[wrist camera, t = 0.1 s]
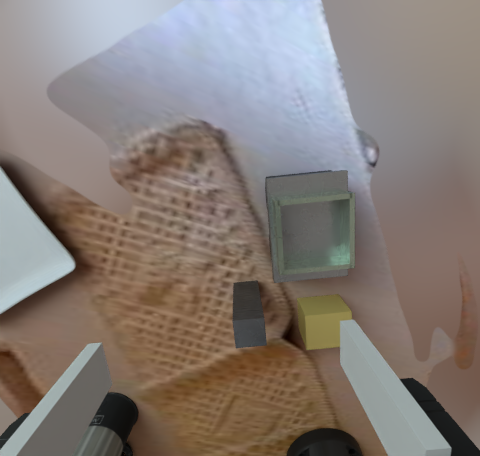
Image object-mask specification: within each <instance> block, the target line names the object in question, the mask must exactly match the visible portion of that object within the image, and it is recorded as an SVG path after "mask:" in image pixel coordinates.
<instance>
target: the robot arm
mask: <svg viewBox="0 0 480 456" xmlns="http://www.w3.org/2000/svg"><path fill="white" fill-rule="evenodd" d="M340 364H341V366H342V368H343V370H344V372H345V374H346V376H347V378H348V379H349V381H350V383H351V385H352V387H353V389H354V391H355V393H356V395H357V397H358V399H359V401H360V402H361V404H362V406H363V408H364V410H365V412H366V414H367V416H368V418H369V420H370V422H371V424H372V425H373V427H374V429H375V431H376V433H377V435H378V437H379V439H380V441H381V443H382V445H383V447H384V448H385V450H386V452H387V454H388V456H480V450H479V449H478V448H477V447H476V446H475V445H474V443H473V442H472V441H471V440H470V439H469V438H468V436H467V435H466V434H465V433H464V432H463V430H462V429H461V428H460V427H459V426H458V424H457V423H456V422H455V421H454V420H453V419H452V418H451V416H450V415H449V414H448V413H447V412H445V409H444V408H443V407H442V406H441V404H440V403H439V402H437V401H436V399H435V397H434V396H433V395H432V394H431V393H430V392H429V390H428V389H427V388H426V387H425V386H423V385H422V384H420V383H419V382H418V381H416V380H415V379H413V378H407V379H399V378H398V377H397V376H396V374H395V373H394V372H393V370H392V369H391V368H390V366H389V365H388V364H387V362H386V361H385V360H384V358H383V357H382V356H381V354H380V353H379V352H378V351H377V349H376V348H375V347H374V345H373V344H372V343H371V341H370V340H369V339H368V337H367V336H366V335H365V333H364V332H363V331H362V329H361V328H360V327H359V325H358V324H357V323H356V322H355V320H344V321H340ZM111 386H112V381H111V377H110V373H109V369H108V365H107V361H106V357H105V353H104V349H103V345H102V343H93V344H88V345H87V346H86V347H85V348H84V349H83V351H82V352H81V353H80V354H79V355H78V357H77V358H76V359H75V360H74V362H73V363H72V364H71V365H70V366H69V368H68V369H67V370H66V371H65V372H64V374H63V375H62V376H61V377H60V378H59V380H58V381H57V382H56V383H55V384H54V386H53V387H52V388H51V389H50V390H49V392H48V393H47V394H46V395H45V396H44V398H43V399H42V400H41V401H40V402H39V404H38V405H37V406H36V407H35V408H34V410H33V411H32V412H31V413H25V414H23V415H22V416H21V417H20V418H18V419H17V420H16V421H15V422H13V423H12V424H11V425H10V426H9V427H8V428H7V429H6V431H5V432H4V433H3V434H2V435H1V436H0V456H72V454H73V453H74V451H75V449H76V447H77V445H78V444H79V442H80V440H81V438H82V437H83V435H84V433H85V431H86V430H87V428H88V426H89V424H90V423H91V421H92V419H93V417H94V416H95V414H96V412H97V410H98V408H99V407H100V405H101V403H102V401H103V400H104V398H105V396H106V394H107V393H108V391H109V389H110V387H111ZM287 456H363V454H362V452H361V449H360V447H359V445H358V443H357V441H356V440H355V439H354V438H353V437H352V436H350V435H349V434H347V433H345V432H343V431H340V430H337V429H317V430H313V431H310V432H308V433H305V434H303V435H302V436H300V437H299V438H298V439H296V440H295V441H294V442H293V443H292V445H291V446H290V448H289V450H288V452H287Z"/></svg>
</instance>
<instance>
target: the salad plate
mask: <svg viewBox="0 0 480 456" xmlns="http://www.w3.org/2000/svg"><path fill="white" fill-rule="evenodd" d="M75 268H76V261H75V259H74V257H73V256H72V255H71V253H70V252H69V251H68V250H67V249H66V248H65V247H64V245H63V244H62V243H61V242H60V241H59V240H58V239H57V238H56V236H55V235H54V234H53V233H52V232H51V230H50V229H49V228H48V227H47V226H46V225H45V223H44V222H43V221H42V220H41V218H40V217H39V216H38V215H37V214H36V212H35V211H34V210H33V209H32V207H31V206H30V205H29V204H28V202H27V201H26V200H25V198H24V197H23V196H22V195H21V193H20V192H19V191H18V189H17V188H16V187H15V185H14V184H13V182H12V181H11V180H10V178H9V177H8V176H7V174H6V173H5V171H4V170H3V169H2V167H1V166H0V314H2V313H3V312H5V311H6V310H8V309H10V308H11V307H13V306H14V305H16V304H17V303H19V302H20V301H22V300H24V299H25V298H27V297H29V296H30V295H32V294H34V293H35V292H37V291H39V290H41V289H42V288H44V287H46V286H48V285H50V284H51V283H53V282H55V281H57V280H59V279H60V278H62V277H64V276H66V275H67V274H69V273H71V272H72V271H73V270H74V269H75Z"/></svg>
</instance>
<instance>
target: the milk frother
mask: <svg viewBox="0 0 480 456" xmlns="http://www.w3.org/2000/svg"><path fill="white" fill-rule="evenodd" d="M137 417H138V411H137V408H136V405H135V404H134V403H133V401H132V400H130V399H129V398H128V397H126V396H124V395H122V394H118V393H107V394H106V396H105V398H104V400H103V401H102V403H101V405H100V407H99V408H98V410H97V412H96V414H95V416H94V417H93V419H92V421H91V423H90V424H89V426H88V428H87V430H86V431H85V433H84V435H83V437H82V438H81V440H80V442H79V444H78V445H77V447H76V449H75V451H74V453H73V454H72V456H124V454H123V452H124V453H125V454H126V456H133V452H132V449H131V448H130V446H129V445H128V444H127V443H126V441H127V438H128V436H129V434H130V431H131V429H132V427H133V425H134V424H135V423H136V421H137ZM122 451H123V452H122Z"/></svg>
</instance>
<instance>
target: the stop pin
mask: <svg viewBox="0 0 480 456" xmlns="http://www.w3.org/2000/svg"><path fill="white" fill-rule="evenodd" d="M233 328H234V336H235V344H236V348H243V347H253V346H263V345H266V333H265V322H264V314H263V309H262V303H261V298H260V292H259V287H258V281H247V282H237V283H234V287H233Z"/></svg>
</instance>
